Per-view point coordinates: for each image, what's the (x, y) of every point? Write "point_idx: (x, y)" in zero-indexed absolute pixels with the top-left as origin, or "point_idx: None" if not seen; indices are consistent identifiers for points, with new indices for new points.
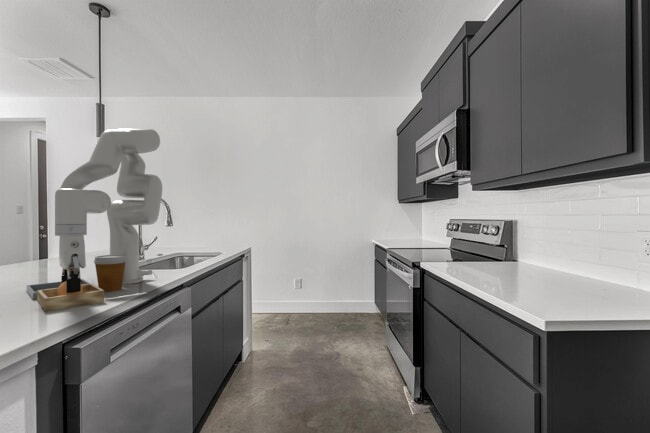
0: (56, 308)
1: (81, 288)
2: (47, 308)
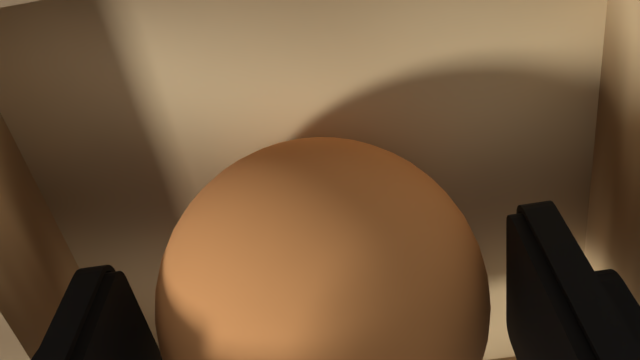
0: None
1: (409, 194)
2: None
